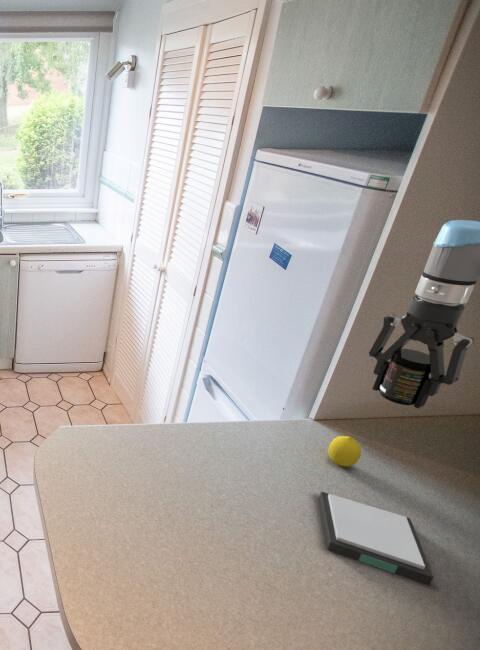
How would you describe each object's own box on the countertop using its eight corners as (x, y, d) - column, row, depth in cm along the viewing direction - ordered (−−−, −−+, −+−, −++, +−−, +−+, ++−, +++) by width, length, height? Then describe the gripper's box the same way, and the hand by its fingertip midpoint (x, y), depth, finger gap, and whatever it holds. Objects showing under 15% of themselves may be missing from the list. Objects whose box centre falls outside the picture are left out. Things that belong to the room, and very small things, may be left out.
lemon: (350, 477, 100) (362, 448, 97) (320, 464, 104) (331, 436, 101) (357, 466, 103) (368, 438, 100) (328, 453, 107) (338, 426, 104)
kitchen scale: (405, 527, 88) (411, 515, 87) (428, 587, 77) (435, 574, 76) (317, 500, 94) (322, 488, 93) (326, 551, 83) (331, 539, 82)
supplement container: (426, 408, 95) (445, 365, 91) (388, 404, 97) (406, 362, 93) (405, 391, 101) (422, 350, 97) (370, 387, 103) (386, 347, 99)
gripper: (370, 287, 97) (337, 379, 106) (500, 321, 80) (448, 427, 89) (389, 281, 100) (355, 372, 109) (518, 313, 83) (466, 416, 92)
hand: (397, 396), depth 99 cm, fingers closed on supplement container, 7 cm apart
